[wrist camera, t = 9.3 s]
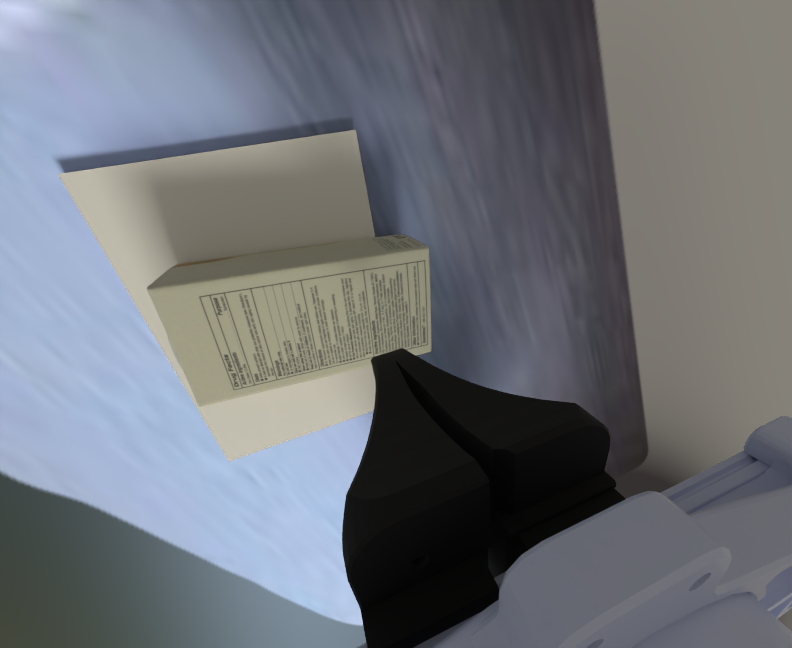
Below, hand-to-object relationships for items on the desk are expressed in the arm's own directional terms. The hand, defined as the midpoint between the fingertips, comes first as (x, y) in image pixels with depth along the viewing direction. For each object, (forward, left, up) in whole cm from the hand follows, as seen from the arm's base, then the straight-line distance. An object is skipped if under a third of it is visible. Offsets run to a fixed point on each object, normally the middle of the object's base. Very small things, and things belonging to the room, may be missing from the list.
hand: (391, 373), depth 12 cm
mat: (0, +4, -9) cm, 10 cm away
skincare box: (0, -4, -6) cm, 7 cm away
